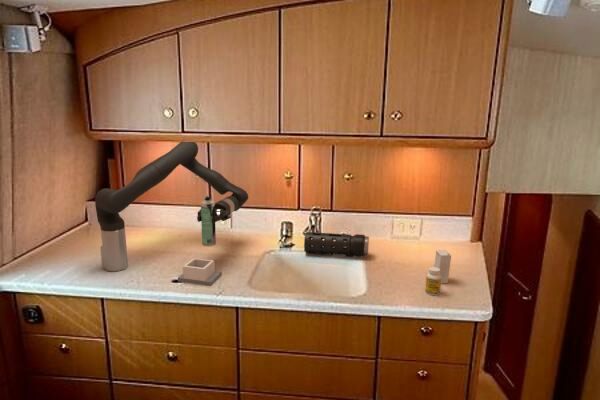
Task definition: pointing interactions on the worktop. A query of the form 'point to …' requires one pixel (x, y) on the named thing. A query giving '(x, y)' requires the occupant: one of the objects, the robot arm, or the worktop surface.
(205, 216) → the spray can
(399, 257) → the worktop surface
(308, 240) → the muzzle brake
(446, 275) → the skincare box
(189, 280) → the socket board
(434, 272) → the supplement bottle
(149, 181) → the robot arm
